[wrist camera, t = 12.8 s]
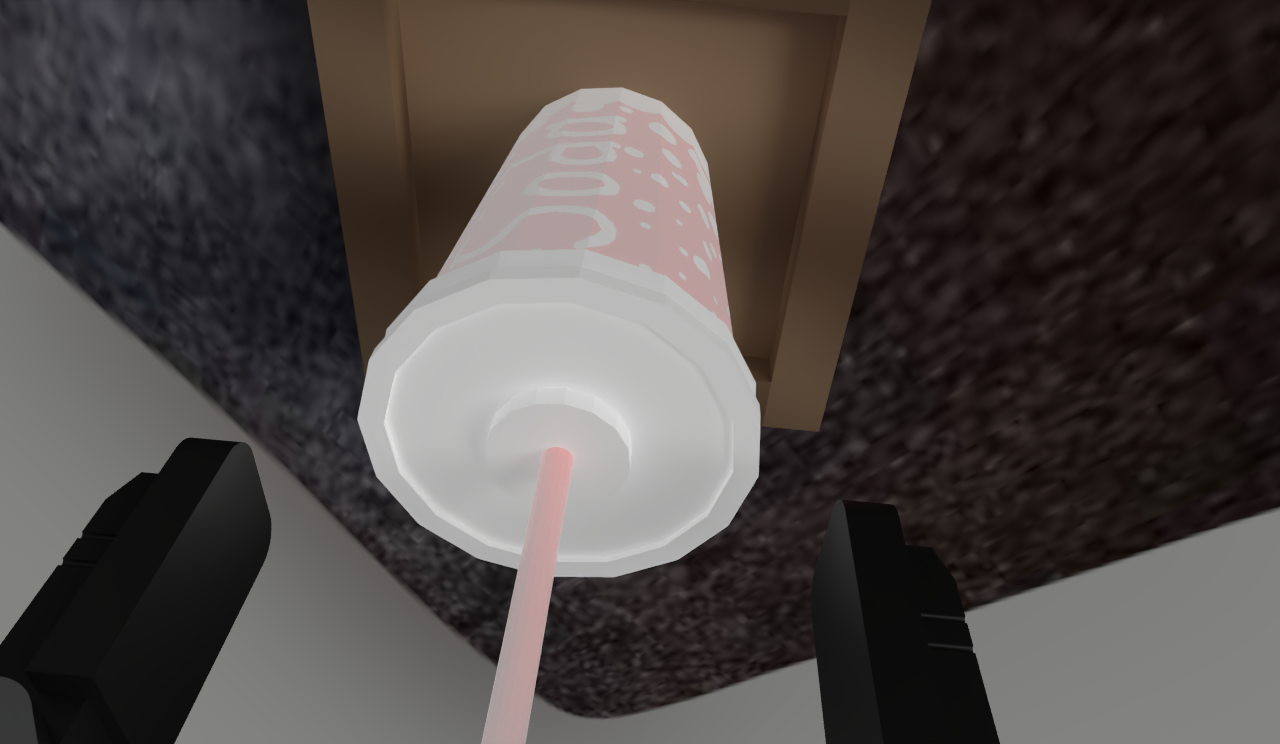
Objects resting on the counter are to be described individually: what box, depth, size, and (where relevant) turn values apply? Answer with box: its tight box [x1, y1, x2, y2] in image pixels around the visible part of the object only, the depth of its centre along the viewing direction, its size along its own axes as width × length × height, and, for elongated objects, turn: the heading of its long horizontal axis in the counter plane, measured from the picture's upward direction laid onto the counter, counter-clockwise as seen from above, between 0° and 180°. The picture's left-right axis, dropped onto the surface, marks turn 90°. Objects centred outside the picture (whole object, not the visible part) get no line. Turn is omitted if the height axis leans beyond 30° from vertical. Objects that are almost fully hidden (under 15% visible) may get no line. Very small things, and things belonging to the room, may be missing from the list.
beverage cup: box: [357, 87, 761, 744], centre depth 15 cm, size 6×6×14 cm
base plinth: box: [307, 0, 932, 431], centre depth 21 cm, size 12×12×4 cm
